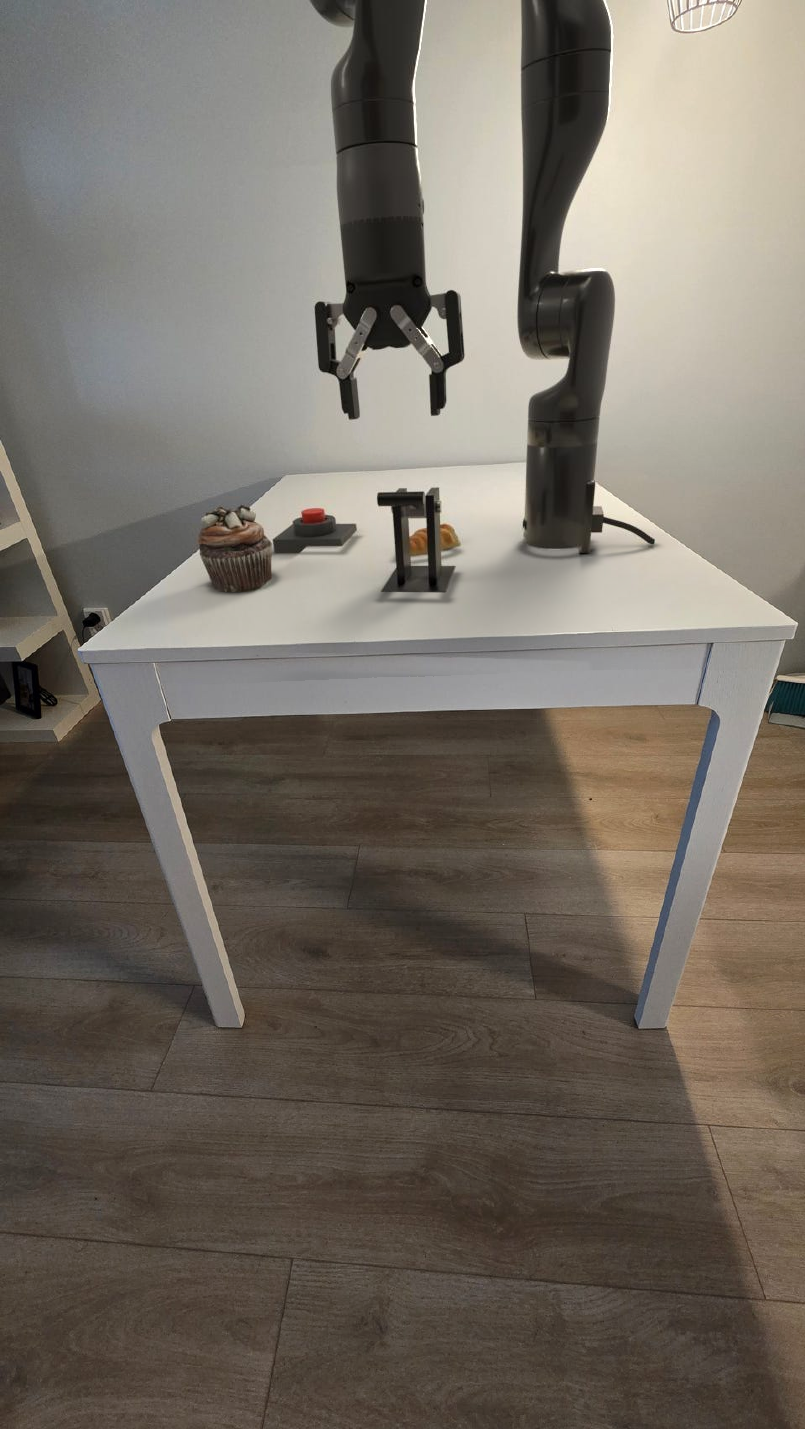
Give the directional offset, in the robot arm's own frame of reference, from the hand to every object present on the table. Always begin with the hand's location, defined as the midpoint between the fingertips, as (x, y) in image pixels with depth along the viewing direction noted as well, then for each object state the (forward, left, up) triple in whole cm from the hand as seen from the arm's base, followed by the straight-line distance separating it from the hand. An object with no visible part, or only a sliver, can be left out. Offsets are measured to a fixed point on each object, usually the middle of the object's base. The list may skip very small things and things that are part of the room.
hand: (394, 417), depth 66 cm
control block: (+20, -26, -21) cm, 39 cm away
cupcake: (+25, -8, -21) cm, 33 cm away
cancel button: (+20, -26, -17) cm, 37 cm away
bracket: (0, -7, -21) cm, 22 cm away
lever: (0, -3, -11) cm, 11 cm away
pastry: (+1, -21, -21) cm, 30 cm away
